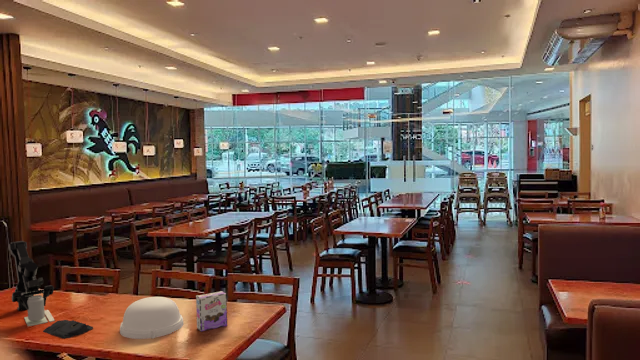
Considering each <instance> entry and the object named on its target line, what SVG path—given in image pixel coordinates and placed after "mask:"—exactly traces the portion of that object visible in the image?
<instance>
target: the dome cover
mask: <svg viewBox="0 0 640 360" xmlns="http://www.w3.org/2000/svg"><path fill="white" fill-rule="evenodd" d="M179 308H180V307H178V305H177V303H176V301H174V300H173V299H171V298H169V297H165V296H149V297H144V298H140V299H138V300H136V301H134V302H132V303H130V304H129V305H128V307H126V310H125V311H124V314H123V318H122V321H121V322H120V326H119V334H120V335H121V336H122V337H124V338H127V339H133V340H134V339H135V340H145V339H155V338H159V337H163V336H167V335H170V334H173V333H175V332H176V330H177V331H179V330H180V329H182V327H184V323H185V322H184V318H183V315H182V314H181V313H180V309H179ZM178 329H179V330H178ZM174 331H175V332H174ZM172 332H173V333H172Z"/></svg>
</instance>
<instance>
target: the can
mask: <svg viewBox="0 0 640 360" xmlns="http://www.w3.org/2000/svg"><path fill="white" fill-rule="evenodd" d="M27 305H28V310H27V317H28V319H29V320H30V321H38V320H41V319H43V318H44V317H46V315H45V312H44V310H45V306H44V298H43V295H42V294H36V295H34V296H31V297H29V298H28V300H27Z"/></svg>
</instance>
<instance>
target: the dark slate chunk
mask: <svg viewBox="0 0 640 360" xmlns="http://www.w3.org/2000/svg"><path fill="white" fill-rule="evenodd" d="M93 329H94V326H92V325H89V324H86V323H83V322H80V321H77V320H74V319H73V320H68V319H63V320H57V321H54V323H52V324H51V325H50V326H48V327H46V328H44V329H43V330H42V333H45V334H48V335H51V336H54V337H57V338H60V339H64V340H65V339H71V338H73V337H77V336H80V335H83V334H86V333H87V332H89V331H91V330H93Z"/></svg>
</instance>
